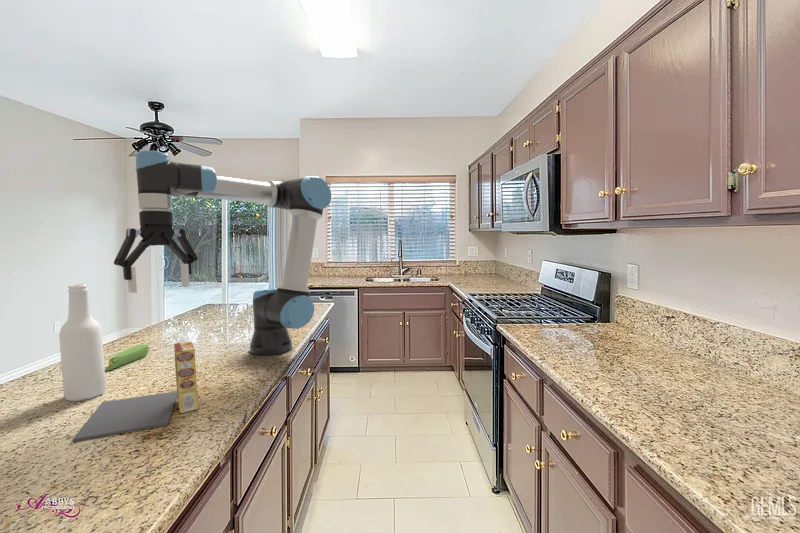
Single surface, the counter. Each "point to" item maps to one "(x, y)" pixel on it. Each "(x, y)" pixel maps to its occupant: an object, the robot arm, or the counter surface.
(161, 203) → the robot arm
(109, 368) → the edible corn
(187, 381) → the candy box
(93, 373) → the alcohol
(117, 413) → the rubber mat
